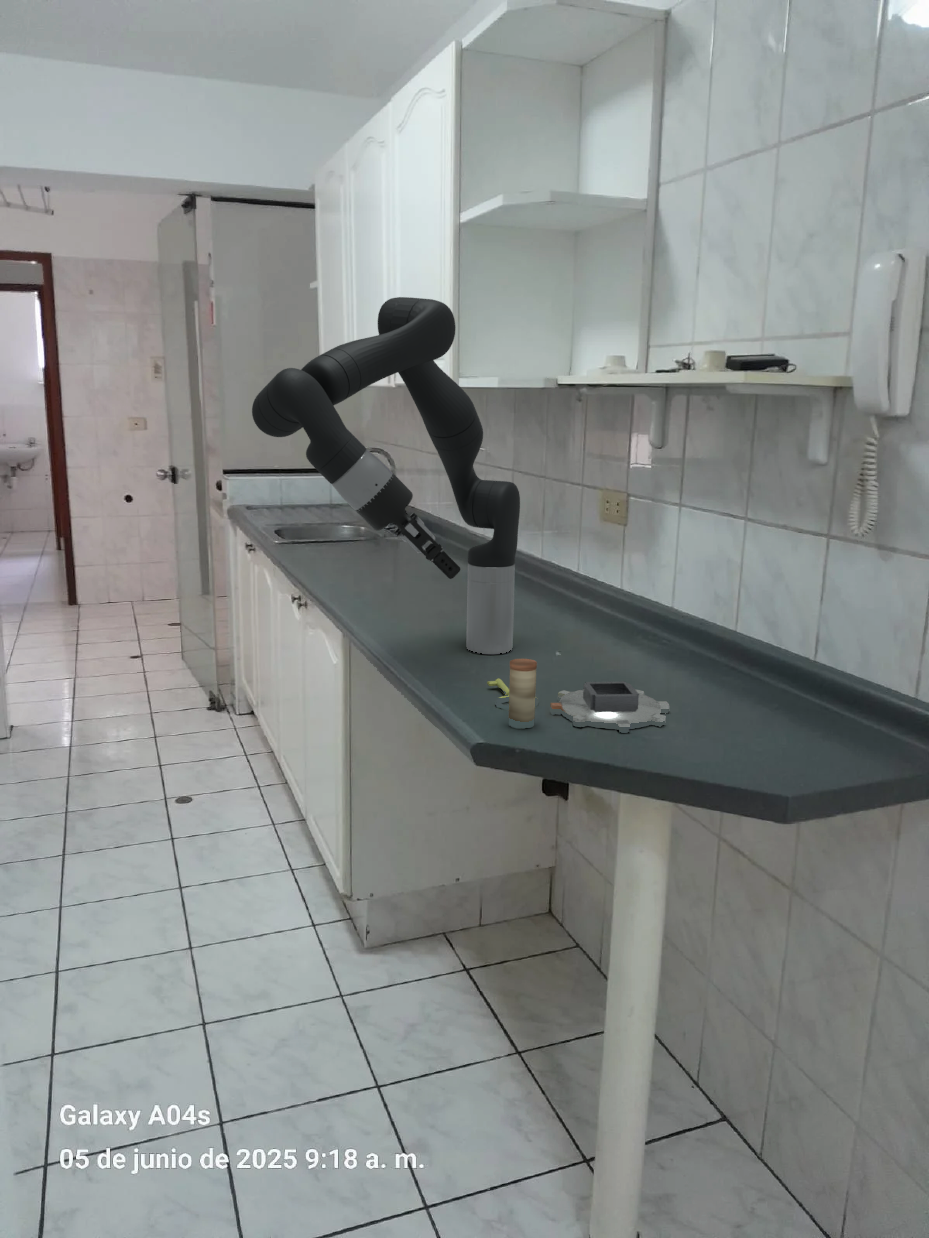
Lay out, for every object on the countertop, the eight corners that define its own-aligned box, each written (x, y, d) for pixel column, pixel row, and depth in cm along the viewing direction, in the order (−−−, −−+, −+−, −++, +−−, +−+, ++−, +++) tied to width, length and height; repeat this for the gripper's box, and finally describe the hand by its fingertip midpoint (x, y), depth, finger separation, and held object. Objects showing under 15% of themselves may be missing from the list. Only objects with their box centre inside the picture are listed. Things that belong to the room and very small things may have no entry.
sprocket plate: (541, 694, 160) (541, 672, 159) (651, 693, 162) (652, 671, 161) (562, 734, 142) (563, 708, 141) (685, 732, 143) (687, 707, 143)
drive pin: (506, 720, 148) (508, 658, 145) (532, 720, 148) (534, 658, 146) (509, 729, 144) (511, 666, 141) (536, 729, 144) (538, 666, 142)
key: (498, 688, 165) (499, 677, 164) (544, 708, 155) (544, 695, 154) (464, 695, 161) (465, 683, 160) (509, 716, 151) (509, 703, 150)
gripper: (396, 475, 126) (478, 559, 131) (385, 467, 140) (460, 543, 145) (357, 514, 127) (440, 597, 131) (349, 503, 140) (425, 578, 145)
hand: (450, 569), depth 138 cm, fingers open, 8 cm apart
